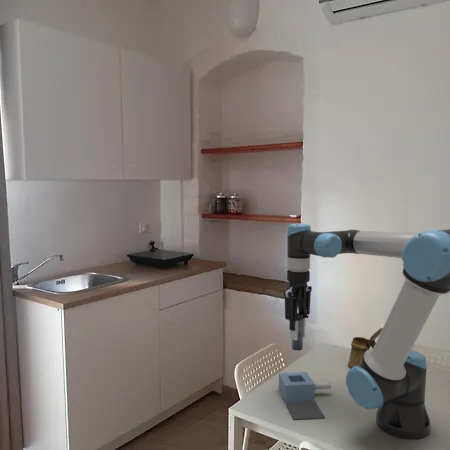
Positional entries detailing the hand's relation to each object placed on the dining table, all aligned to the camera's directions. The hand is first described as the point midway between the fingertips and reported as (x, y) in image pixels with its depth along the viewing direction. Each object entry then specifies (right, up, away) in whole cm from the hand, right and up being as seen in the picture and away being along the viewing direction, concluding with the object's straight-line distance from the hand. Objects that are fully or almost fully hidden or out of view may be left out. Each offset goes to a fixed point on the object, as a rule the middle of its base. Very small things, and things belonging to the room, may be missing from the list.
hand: (297, 337), depth 153 cm
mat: (+1, -21, -9) cm, 23 cm away
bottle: (0, -4, 0) cm, 4 cm away
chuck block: (+3, -20, +2) cm, 21 cm away
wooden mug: (+31, -19, +25) cm, 44 cm away
